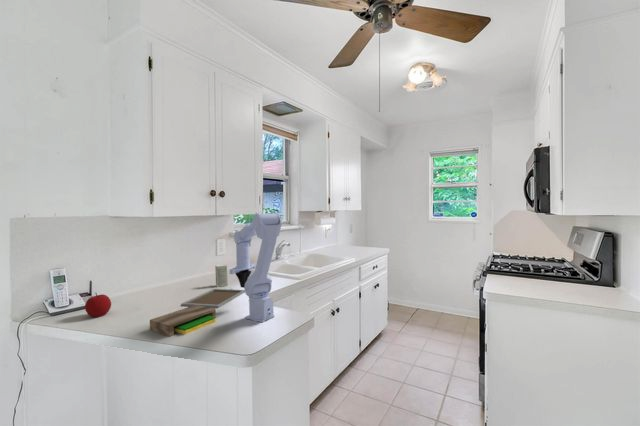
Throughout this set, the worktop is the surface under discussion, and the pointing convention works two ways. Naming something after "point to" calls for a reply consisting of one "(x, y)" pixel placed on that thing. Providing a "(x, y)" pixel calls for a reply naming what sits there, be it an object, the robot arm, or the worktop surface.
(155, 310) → the worktop surface
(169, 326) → the low shelf
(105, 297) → the apple
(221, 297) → the grey flat tray
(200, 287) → the worktop surface
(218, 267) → the skincare box
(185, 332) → the dish sponge
